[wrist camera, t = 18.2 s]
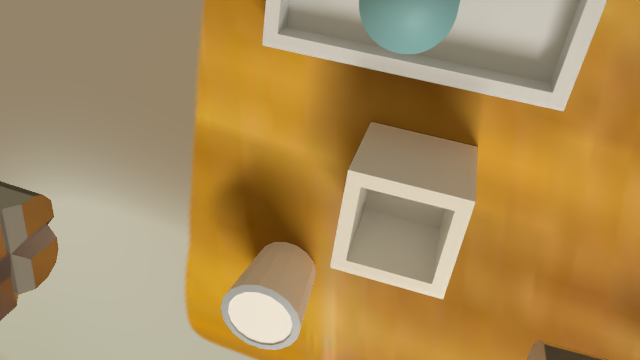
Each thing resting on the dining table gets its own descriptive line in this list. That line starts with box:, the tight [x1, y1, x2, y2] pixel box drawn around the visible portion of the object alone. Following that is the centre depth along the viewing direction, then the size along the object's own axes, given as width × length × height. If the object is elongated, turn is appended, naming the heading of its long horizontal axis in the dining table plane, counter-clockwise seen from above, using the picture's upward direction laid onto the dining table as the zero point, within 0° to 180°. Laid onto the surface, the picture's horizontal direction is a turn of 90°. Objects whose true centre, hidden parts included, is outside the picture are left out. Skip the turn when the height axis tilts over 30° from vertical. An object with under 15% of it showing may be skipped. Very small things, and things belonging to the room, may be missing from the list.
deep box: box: [330, 122, 478, 299], centre depth 39 cm, size 8×8×8 cm
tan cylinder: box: [221, 242, 316, 350], centre depth 47 cm, size 7×7×7 cm
